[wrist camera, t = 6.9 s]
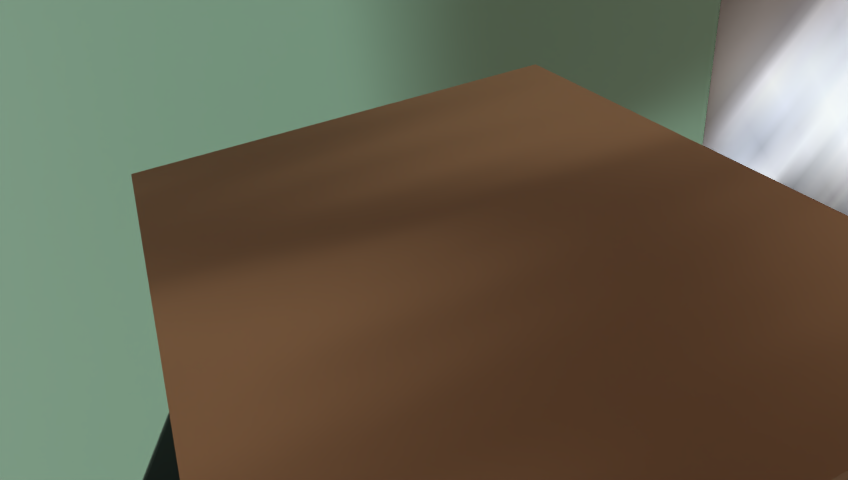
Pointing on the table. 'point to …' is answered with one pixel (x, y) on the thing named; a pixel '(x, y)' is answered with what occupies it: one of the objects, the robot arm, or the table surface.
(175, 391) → the walnut block
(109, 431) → the green book
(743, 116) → the table surface
